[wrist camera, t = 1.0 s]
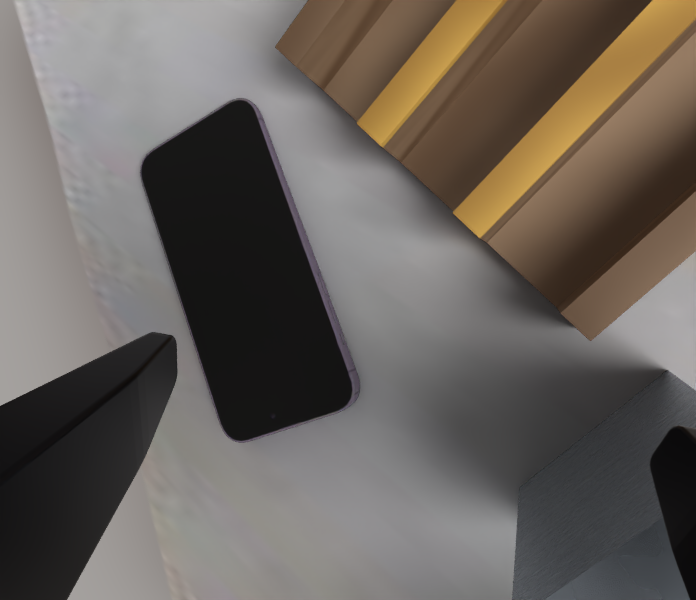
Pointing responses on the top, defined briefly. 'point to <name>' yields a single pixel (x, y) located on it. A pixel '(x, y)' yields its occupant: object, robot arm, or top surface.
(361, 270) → the top surface
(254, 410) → the smartphone
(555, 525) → the block
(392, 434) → the top surface
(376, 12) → the rack
